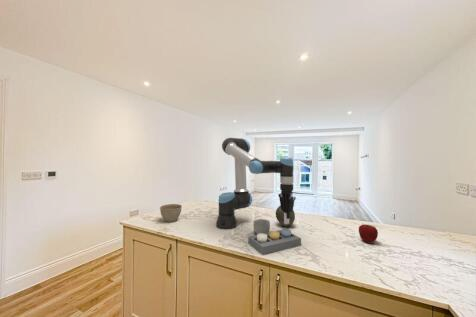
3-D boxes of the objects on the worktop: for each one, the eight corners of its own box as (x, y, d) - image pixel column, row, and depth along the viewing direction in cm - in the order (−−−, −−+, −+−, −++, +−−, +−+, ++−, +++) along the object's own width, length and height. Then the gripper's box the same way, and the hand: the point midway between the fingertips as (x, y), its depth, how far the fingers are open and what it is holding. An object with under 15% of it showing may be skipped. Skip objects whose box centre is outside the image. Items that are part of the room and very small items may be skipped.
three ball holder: (248, 243, 113) (248, 236, 113) (283, 235, 124) (283, 229, 124) (262, 254, 99) (262, 247, 99) (301, 245, 111) (301, 238, 111)
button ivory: (255, 241, 109) (255, 234, 109) (263, 239, 112) (263, 232, 112) (260, 245, 104) (260, 237, 104) (269, 243, 107) (269, 236, 107)
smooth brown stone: (297, 224, 145) (297, 204, 145) (291, 230, 133) (291, 208, 133) (279, 221, 153) (279, 202, 153) (272, 226, 141) (272, 205, 141)
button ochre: (267, 238, 113) (267, 231, 113) (275, 237, 115) (275, 230, 115) (273, 242, 108) (273, 235, 108) (281, 240, 110) (281, 233, 110)
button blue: (279, 236, 117) (279, 229, 117) (286, 234, 119) (286, 228, 119) (285, 239, 112) (285, 232, 112) (293, 238, 114) (293, 231, 114)
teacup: (269, 237, 121) (269, 224, 121) (252, 235, 123) (252, 223, 123) (270, 229, 135) (270, 217, 135) (254, 228, 137) (254, 216, 137)
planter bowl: (155, 223, 146) (155, 208, 146) (166, 216, 162) (166, 203, 162) (175, 224, 143) (175, 209, 143) (185, 217, 159) (185, 204, 159)
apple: (360, 237, 123) (361, 221, 123) (379, 241, 116) (379, 225, 116) (356, 241, 116) (356, 224, 116) (375, 246, 110) (376, 229, 110)
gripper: (274, 182, 120) (274, 221, 119) (289, 185, 108) (289, 227, 108) (284, 182, 123) (284, 219, 123) (299, 184, 111) (299, 225, 111)
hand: (286, 223), depth 115 cm, fingers closed
